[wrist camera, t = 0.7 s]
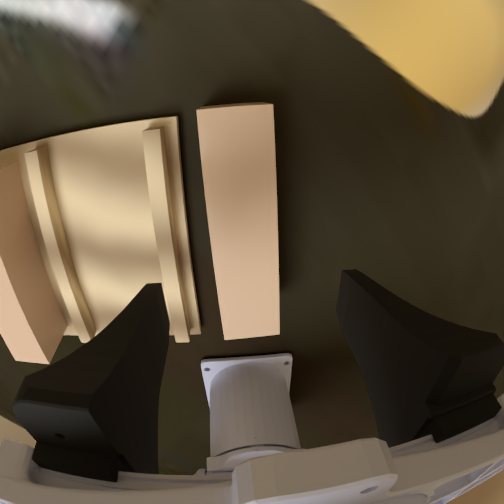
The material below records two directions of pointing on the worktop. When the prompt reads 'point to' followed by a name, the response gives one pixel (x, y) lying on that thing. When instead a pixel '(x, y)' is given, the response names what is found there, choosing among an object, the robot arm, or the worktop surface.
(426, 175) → the worktop surface
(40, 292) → the clay bar
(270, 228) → the clay bar
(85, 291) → the rack
